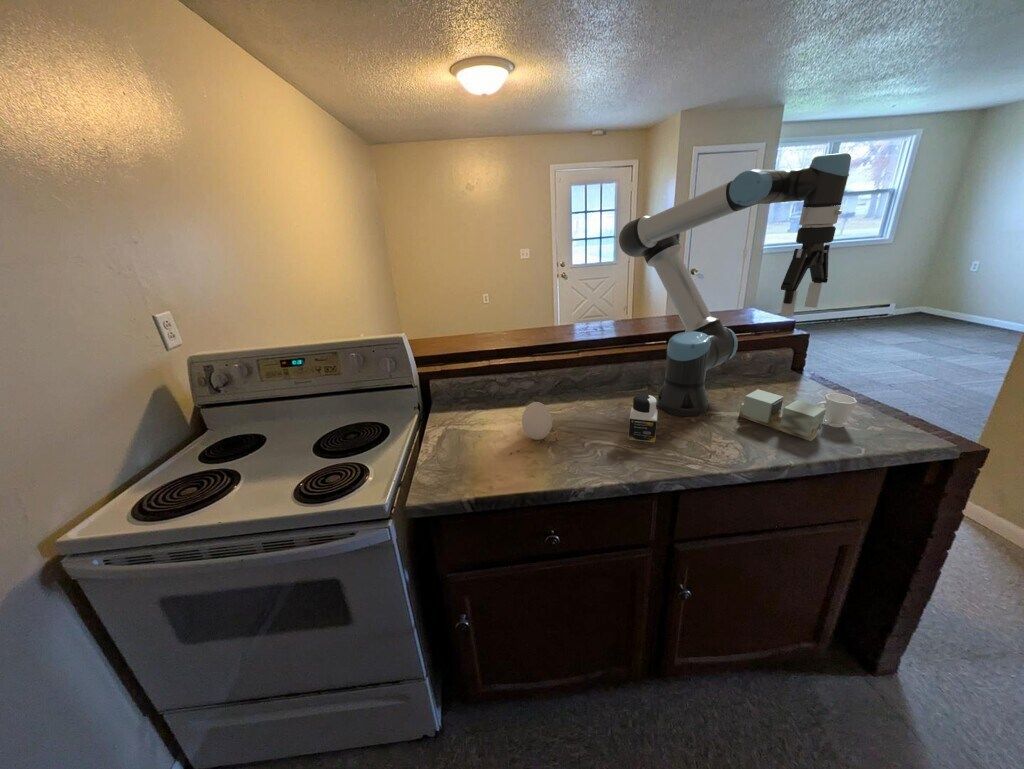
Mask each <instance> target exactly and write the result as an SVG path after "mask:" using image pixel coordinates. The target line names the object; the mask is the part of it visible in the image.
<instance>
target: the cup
mask: <svg viewBox="0 0 1024 769" xmlns="http://www.w3.org/2000/svg"><path fill="white" fill-rule="evenodd" d="M824 397H825V398H824V400H823V401H819V402H817V403H816V404H815V406H818V407H821V405H824V408H825V409H826V411H825V415H824V419H825V420H824V419H823V422H822V425H824V426H826V425H827V426H829V427H832V428H842V427H844V426H845V425H844V424H845V423H846V422H847V420H848V419H849V418H850V416H851V414H852V413H853V410H854V408H855V406H856V405H857V403H858V400H856V398H855V397H853V396H850V395H847V394H845V393H844V394H843V393H834V392H831V393H828V394H825V396H824Z"/></svg>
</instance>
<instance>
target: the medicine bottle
mask: <svg viewBox="0 0 1024 769" xmlns="http://www.w3.org/2000/svg"><path fill="white" fill-rule="evenodd" d="M658 411H659V410H658V408H657V398H655V397H654V396H653V395H651V394H646V393H643V394H638V395H635V396H634V397H633V400H632V406H631V409H630V413H629V423H628V440H631V441H639V442H647V443H655V442H656V438H657V437H656V436H657V425H658Z"/></svg>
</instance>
